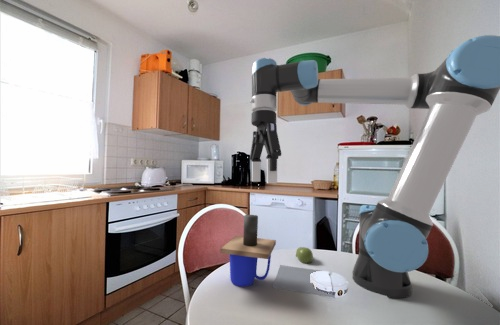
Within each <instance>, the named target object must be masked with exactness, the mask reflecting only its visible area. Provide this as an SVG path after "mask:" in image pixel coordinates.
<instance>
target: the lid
mask: <svg viewBox="0 0 500 325" xmlns="http://www.w3.org/2000/svg"><path fill="white" fill-rule="evenodd" d="M258 225H259V215H257V214H245V215H244V216H243V236H241V235H240V236H239V235H235V236H234V237H233V238H232V239H230V240H229V241H228V242H226V243H225V244H224V245H223V246H222V247H220V251H219V252H220V254H225V255H230V254H232V255H240V256H247V257H255V258H258V259H263V260H264V259H265V260H268V259H269V257H270V255H271V256H272V253H273V251H274V249H275V246H276V243H277V240H276V239H269V238H259V237H258V228H259V226H258Z"/></svg>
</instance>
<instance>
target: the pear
mask: <svg viewBox="0 0 500 325" xmlns="http://www.w3.org/2000/svg"><path fill="white" fill-rule="evenodd" d="M295 257H296V258H297V260H298V261H299V262H300V263H303V264H310V263H312V261H313V258H314V255H313V251H312V250H311V249H310V248H309V247H304V246H300V247H298V248H297V249H296V251H295Z"/></svg>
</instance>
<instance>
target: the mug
mask: <svg viewBox="0 0 500 325" xmlns="http://www.w3.org/2000/svg"><path fill="white" fill-rule="evenodd" d="M271 258H272V254H271V255H270V257H269V259H267V267H266V270H265V273H264V275H262V276H260V275H257V268H258V267H257V266H258V259H259V258H255V257H247V256H240V255H232V254H229V273H230V274H229V276H230V282H231V283H232V284H233V285H235V286H236V287H242V288H244V287H249V286H252V284H254V282H255V279H257V280H259V281H263V280H265V279H266V278H267V277H268V274H269V271H270V267H271Z"/></svg>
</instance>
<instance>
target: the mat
mask: <svg viewBox="0 0 500 325" xmlns="http://www.w3.org/2000/svg"><path fill="white" fill-rule="evenodd" d="M316 271H321V270H320V269H319V270H318V269H311V268H305V267H304V268H303V267H297V266H289V265H285V264H284V265H282V264H280V265H279V268H278V271H277V273H276V277H275V279H274V282H273V286H272V288H274V289H278V290H279V289H280V290H284V291H285V290H286V291H291V292H297V293H303V294H309V295H317V296H322V297H326V298H327V297H328V298H334V299H335V294H334V295H331V294H327V293H323V292H321V291H318V290H316V289H315V288H314V287H313V286H312V285H311V283H310V274H311V273H313V272H316Z"/></svg>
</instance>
